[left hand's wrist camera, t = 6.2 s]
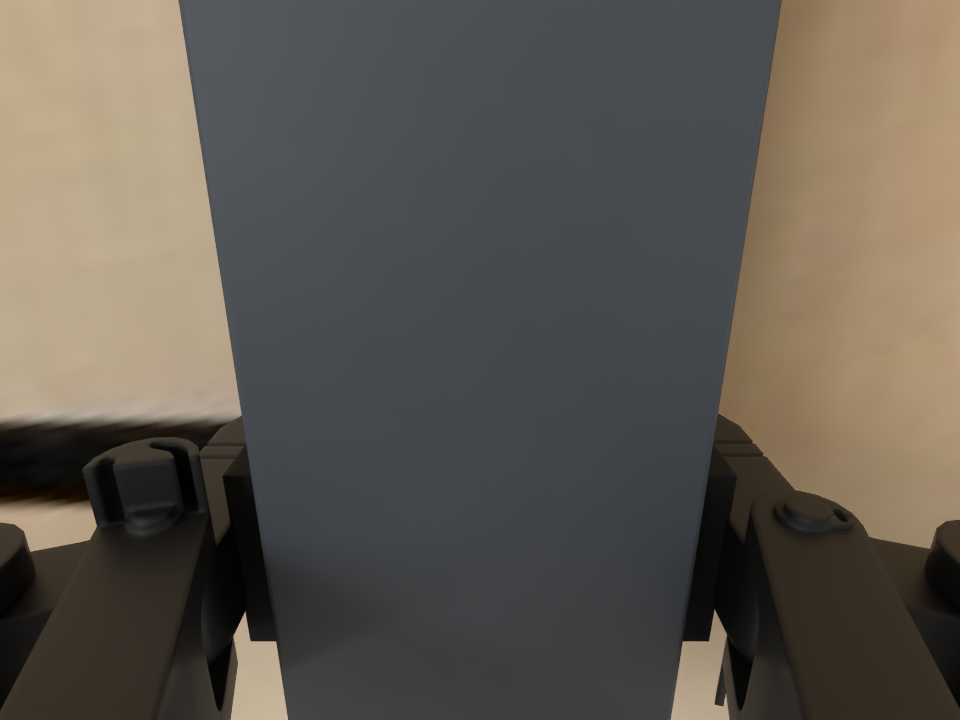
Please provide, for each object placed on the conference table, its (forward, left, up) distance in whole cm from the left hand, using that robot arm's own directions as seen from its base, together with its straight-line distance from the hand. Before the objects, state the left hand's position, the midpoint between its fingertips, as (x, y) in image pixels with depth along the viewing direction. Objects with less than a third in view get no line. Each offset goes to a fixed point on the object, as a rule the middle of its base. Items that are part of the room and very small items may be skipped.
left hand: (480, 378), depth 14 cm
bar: (+17, +13, -1) cm, 21 cm away
